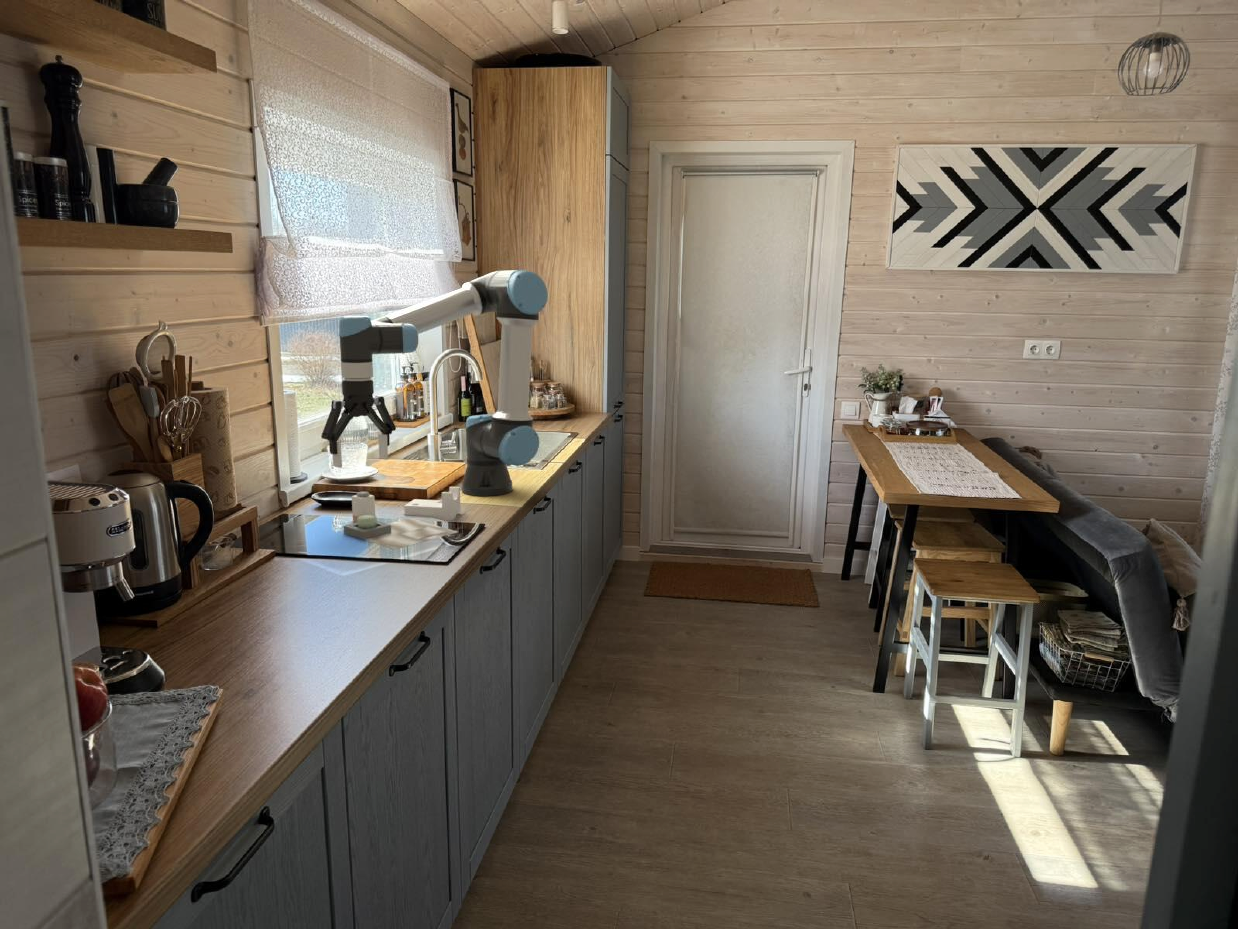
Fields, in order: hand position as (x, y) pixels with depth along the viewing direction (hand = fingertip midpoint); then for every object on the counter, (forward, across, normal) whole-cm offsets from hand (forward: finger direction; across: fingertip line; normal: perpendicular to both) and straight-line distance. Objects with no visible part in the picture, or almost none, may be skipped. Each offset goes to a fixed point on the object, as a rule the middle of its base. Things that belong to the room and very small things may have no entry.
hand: (361, 462), depth 218 cm
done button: (+14, +6, +10) cm, 18 cm away
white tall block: (+16, 0, 0) cm, 16 cm away
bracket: (+16, -17, +6) cm, 25 cm away
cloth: (+16, 0, +16) cm, 23 cm away
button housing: (+15, +6, +10) cm, 19 cm away
